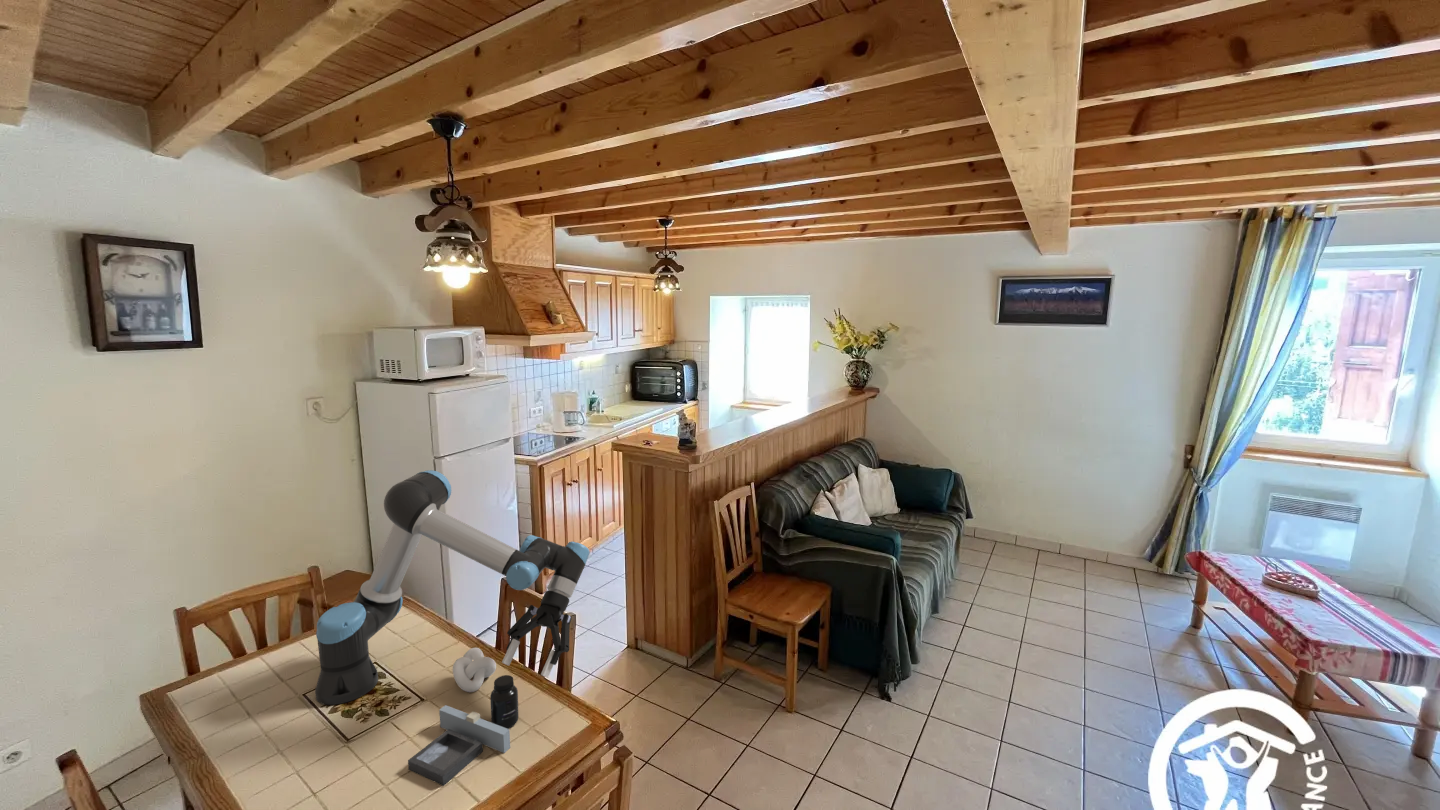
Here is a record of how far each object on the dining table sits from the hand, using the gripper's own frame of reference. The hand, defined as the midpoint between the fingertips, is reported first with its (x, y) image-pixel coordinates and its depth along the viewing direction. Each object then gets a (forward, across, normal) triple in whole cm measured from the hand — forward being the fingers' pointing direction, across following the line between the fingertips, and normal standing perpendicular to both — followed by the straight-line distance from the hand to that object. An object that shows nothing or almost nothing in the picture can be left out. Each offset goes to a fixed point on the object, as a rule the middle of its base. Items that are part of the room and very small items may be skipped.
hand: (524, 670), depth 154 cm
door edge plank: (+18, +4, +2) cm, 18 cm away
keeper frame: (+24, +4, +8) cm, 26 cm away
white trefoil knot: (+6, +21, -10) cm, 24 cm away
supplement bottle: (+13, +1, -3) cm, 13 cm away
